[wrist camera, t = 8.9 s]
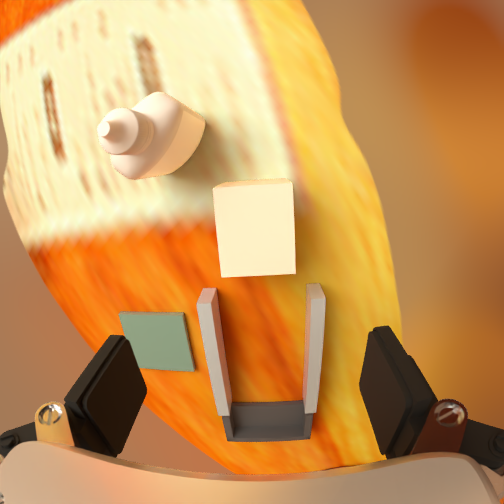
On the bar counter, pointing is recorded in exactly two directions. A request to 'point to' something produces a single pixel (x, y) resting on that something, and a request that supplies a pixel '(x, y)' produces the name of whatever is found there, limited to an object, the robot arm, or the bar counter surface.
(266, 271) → the cream block
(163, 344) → the green coaster
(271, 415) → the tray
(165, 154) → the eye dropper bottle
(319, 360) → the channel
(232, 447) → the bar counter surface
